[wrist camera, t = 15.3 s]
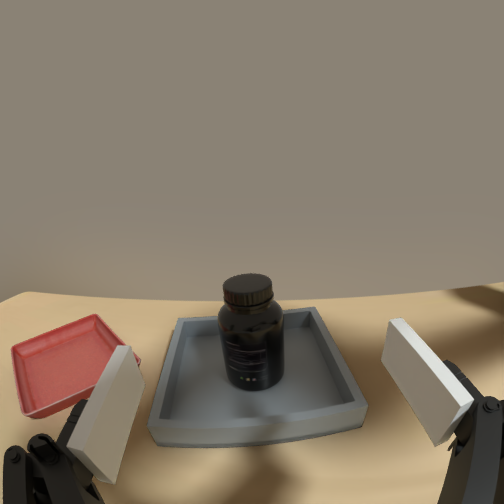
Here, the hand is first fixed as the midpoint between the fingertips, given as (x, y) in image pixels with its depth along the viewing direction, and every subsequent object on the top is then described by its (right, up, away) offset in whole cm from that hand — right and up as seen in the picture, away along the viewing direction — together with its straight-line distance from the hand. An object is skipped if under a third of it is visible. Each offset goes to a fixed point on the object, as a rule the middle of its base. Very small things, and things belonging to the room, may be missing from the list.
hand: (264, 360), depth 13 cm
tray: (0, -10, +18) cm, 21 cm away
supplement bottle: (0, -9, +18) cm, 20 cm away
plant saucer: (-26, -12, +18) cm, 34 cm away
